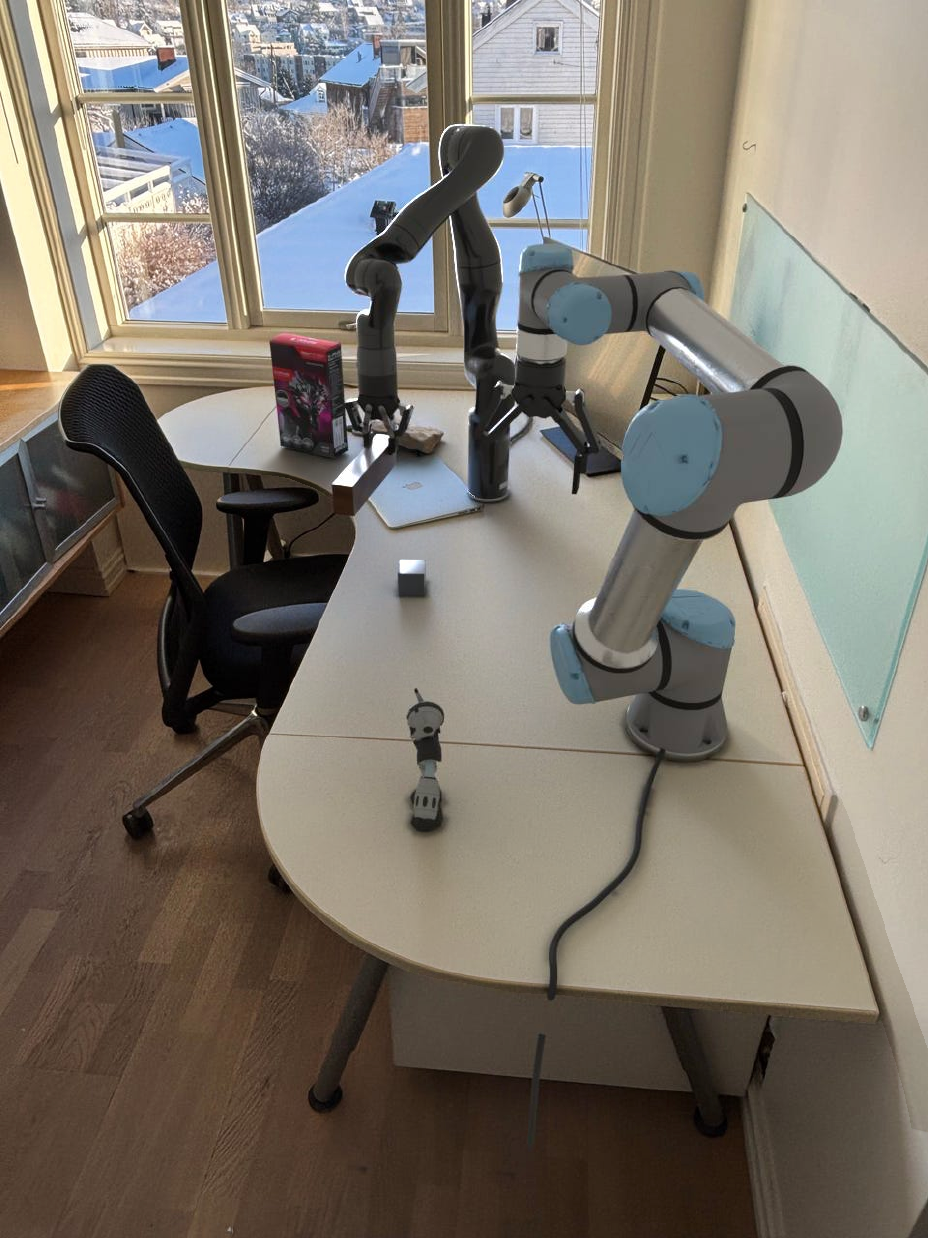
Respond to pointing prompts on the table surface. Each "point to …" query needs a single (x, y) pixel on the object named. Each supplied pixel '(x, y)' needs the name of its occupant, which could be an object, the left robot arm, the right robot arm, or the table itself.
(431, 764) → the robot
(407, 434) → the stone
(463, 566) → the table surface
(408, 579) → the slate cube
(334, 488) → the walnut bar
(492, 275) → the left robot arm
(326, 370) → the graphics card box
